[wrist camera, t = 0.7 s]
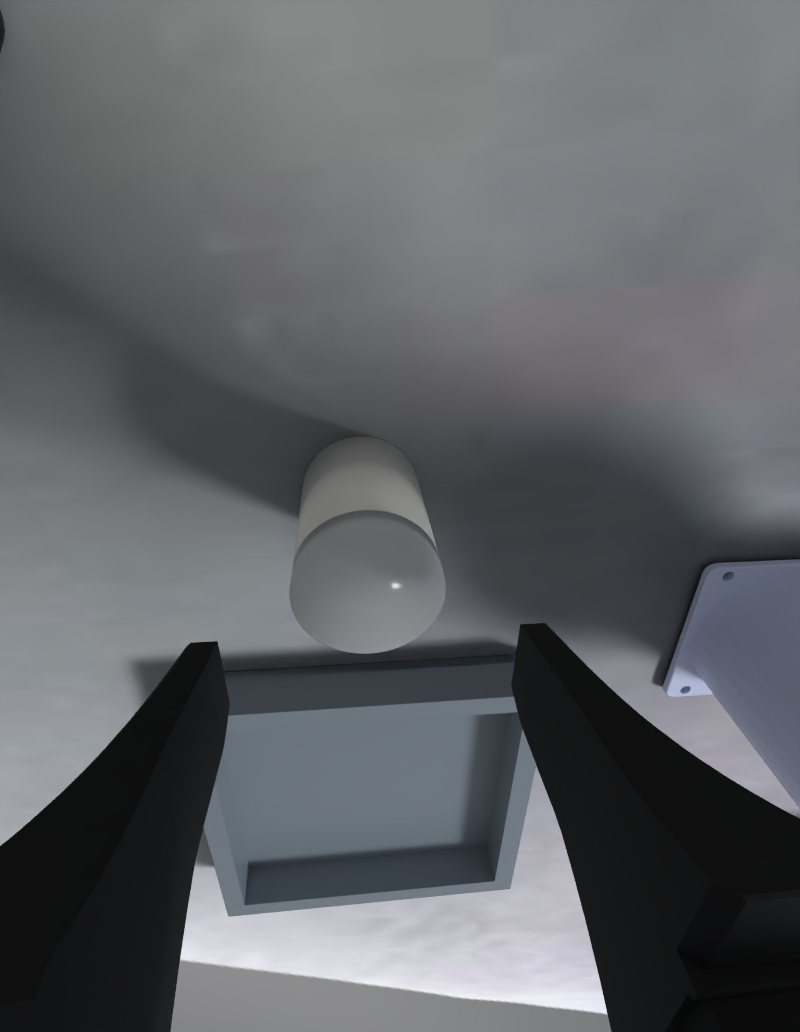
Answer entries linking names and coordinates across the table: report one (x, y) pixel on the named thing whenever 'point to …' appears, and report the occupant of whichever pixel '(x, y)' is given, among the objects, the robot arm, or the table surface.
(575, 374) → the table surface
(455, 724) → the tray
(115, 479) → the table surface
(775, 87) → the table surface
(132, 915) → the robot arm
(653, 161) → the table surface
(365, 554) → the cylinder
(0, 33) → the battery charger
